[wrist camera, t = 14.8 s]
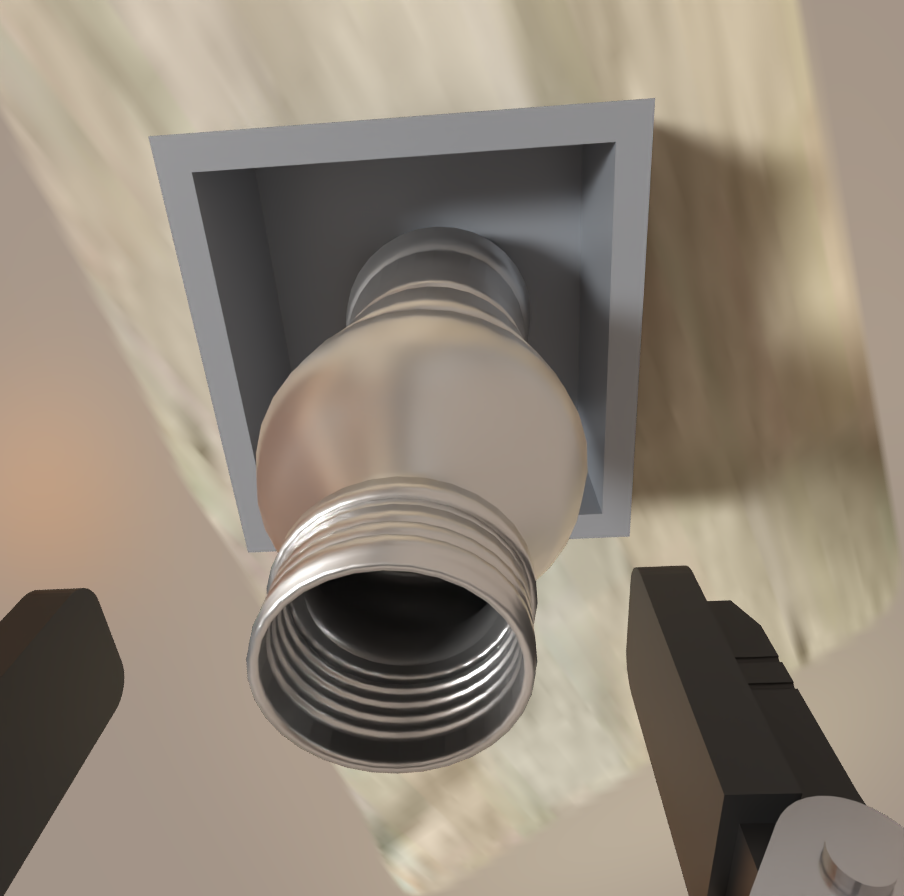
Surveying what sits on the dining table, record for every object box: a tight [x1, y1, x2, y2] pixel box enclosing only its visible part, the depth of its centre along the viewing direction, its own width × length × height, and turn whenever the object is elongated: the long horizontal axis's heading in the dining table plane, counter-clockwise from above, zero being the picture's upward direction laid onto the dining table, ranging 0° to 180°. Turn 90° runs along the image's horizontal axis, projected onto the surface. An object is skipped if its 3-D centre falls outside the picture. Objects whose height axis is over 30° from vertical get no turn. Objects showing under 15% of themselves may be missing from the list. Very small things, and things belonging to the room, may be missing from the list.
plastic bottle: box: [246, 227, 588, 773], centre depth 17 cm, size 6×7×20 cm
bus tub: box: [148, 98, 655, 552], centre depth 24 cm, size 14×14×7 cm
